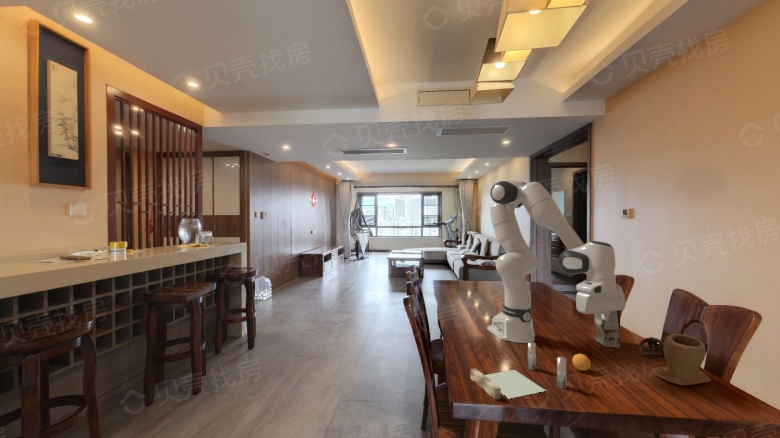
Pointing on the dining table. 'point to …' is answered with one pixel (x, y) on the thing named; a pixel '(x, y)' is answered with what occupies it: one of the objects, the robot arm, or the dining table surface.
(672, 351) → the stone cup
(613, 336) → the coffee box
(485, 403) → the dining table surface
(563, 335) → the dining table surface
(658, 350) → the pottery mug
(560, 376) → the post
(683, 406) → the dining table surface
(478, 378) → the wall
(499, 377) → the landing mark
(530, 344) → the post
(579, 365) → the ball
